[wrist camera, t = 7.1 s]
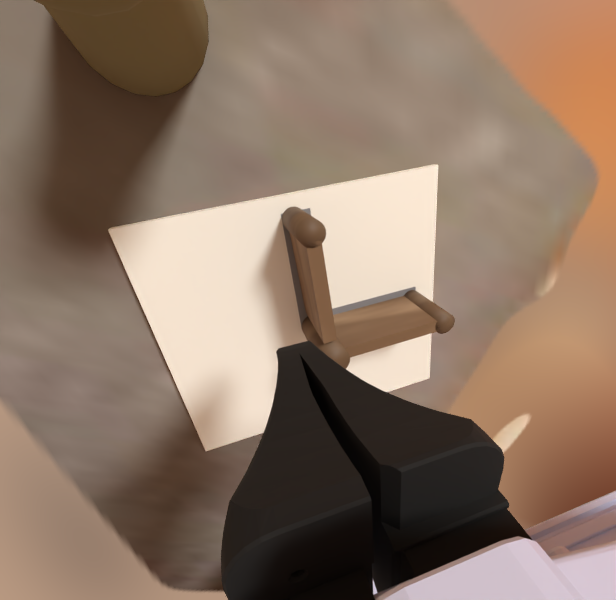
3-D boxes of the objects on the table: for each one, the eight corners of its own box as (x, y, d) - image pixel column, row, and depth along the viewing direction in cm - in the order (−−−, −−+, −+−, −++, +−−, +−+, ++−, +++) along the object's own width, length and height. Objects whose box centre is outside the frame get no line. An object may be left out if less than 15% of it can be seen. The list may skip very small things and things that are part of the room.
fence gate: (301, 313, 22) (319, 345, 18) (279, 209, 18) (295, 223, 15) (321, 308, 22) (341, 338, 18) (302, 204, 19) (323, 216, 15)
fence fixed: (418, 306, 24) (458, 336, 20) (303, 338, 23) (322, 378, 19) (419, 285, 23) (461, 312, 19) (299, 317, 22) (319, 354, 18)
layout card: (426, 374, 28) (429, 378, 28) (205, 446, 25) (205, 451, 24) (433, 164, 20) (438, 164, 20) (110, 227, 17) (107, 229, 16)
